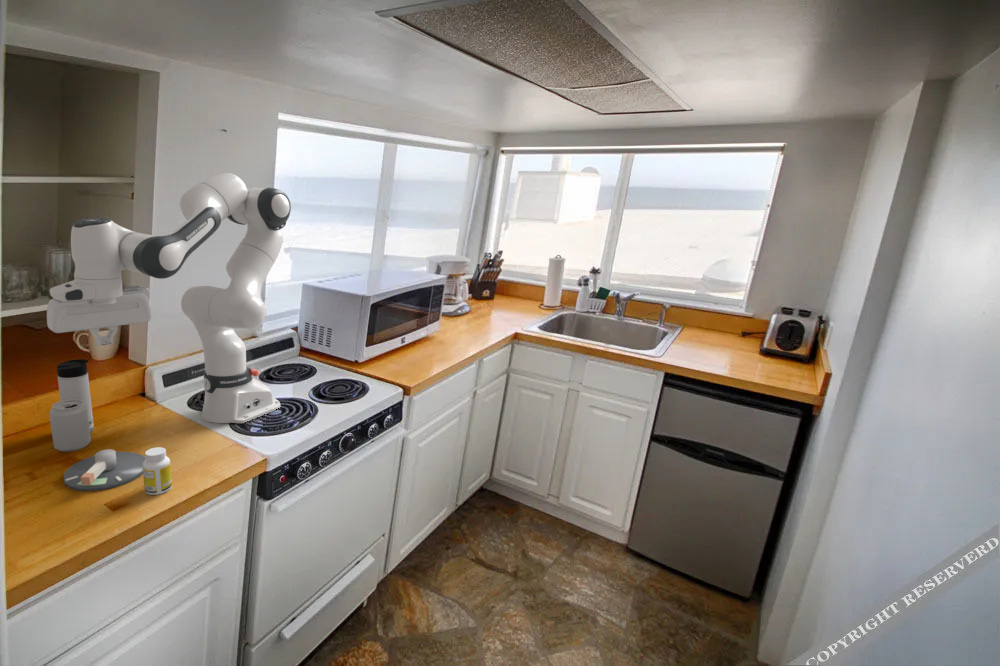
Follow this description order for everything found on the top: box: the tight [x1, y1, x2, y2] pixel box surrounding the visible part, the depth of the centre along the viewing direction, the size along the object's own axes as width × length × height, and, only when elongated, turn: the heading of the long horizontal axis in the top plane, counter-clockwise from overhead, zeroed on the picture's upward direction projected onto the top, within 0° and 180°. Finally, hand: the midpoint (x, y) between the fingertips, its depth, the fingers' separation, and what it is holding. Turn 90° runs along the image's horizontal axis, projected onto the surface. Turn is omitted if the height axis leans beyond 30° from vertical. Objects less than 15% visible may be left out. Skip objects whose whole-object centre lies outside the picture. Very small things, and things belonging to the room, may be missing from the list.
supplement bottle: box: [142, 446, 173, 496], centre depth 121 cm, size 5×5×10 cm
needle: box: [81, 448, 117, 485], centre depth 122 cm, size 11×4×4 cm, turn 12°
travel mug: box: [56, 358, 95, 433], centre depth 141 cm, size 6×7×20 cm
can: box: [48, 399, 92, 453], centre depth 134 cm, size 8×8×12 cm
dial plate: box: [63, 451, 146, 492], centre depth 126 cm, size 16×16×1 cm
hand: (105, 344), depth 127 cm, fingers closed
